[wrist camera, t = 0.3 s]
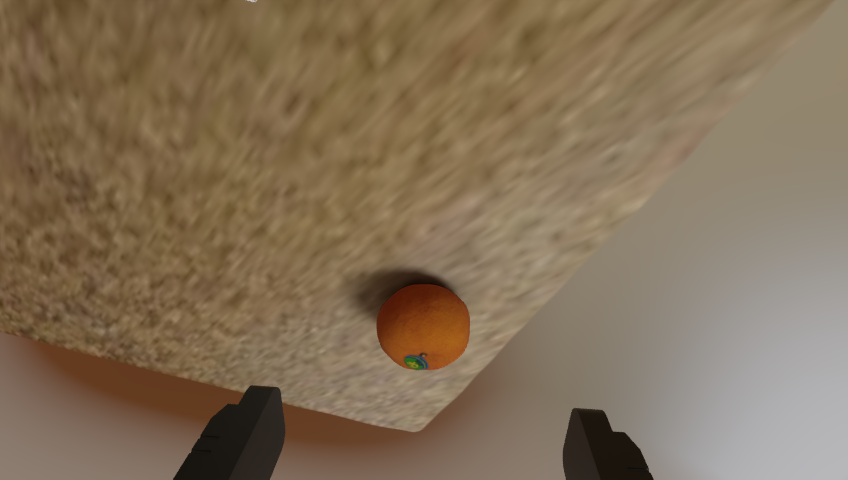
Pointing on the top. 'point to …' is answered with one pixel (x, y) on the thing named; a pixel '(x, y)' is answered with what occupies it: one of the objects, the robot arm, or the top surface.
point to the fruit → (423, 327)
